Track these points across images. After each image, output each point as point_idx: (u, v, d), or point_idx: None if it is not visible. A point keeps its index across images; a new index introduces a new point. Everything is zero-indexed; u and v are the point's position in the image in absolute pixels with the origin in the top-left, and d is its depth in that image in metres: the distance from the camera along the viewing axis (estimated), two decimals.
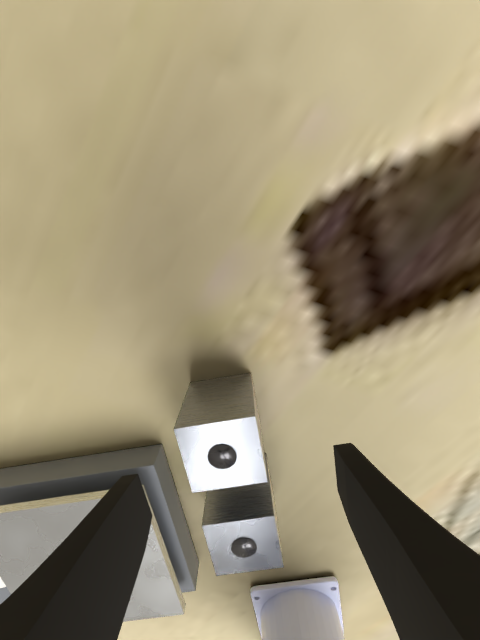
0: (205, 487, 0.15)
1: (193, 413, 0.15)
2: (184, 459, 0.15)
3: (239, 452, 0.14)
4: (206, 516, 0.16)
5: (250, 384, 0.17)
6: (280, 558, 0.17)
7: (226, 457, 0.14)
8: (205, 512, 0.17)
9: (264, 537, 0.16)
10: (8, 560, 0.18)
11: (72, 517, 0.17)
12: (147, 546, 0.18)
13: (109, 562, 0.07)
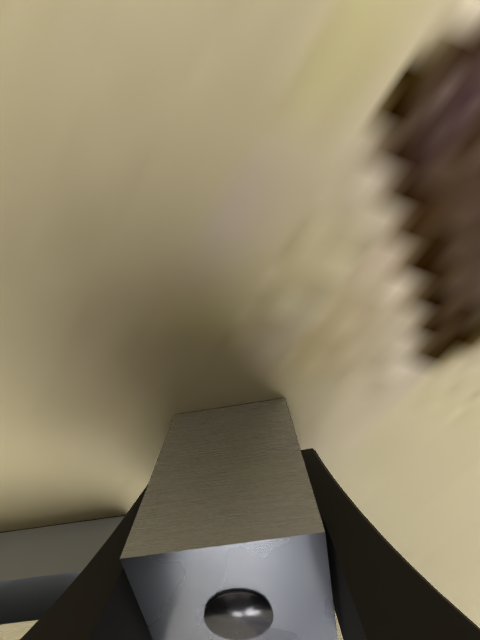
0: None
1: (172, 504, 0.07)
2: (149, 618, 0.06)
3: (279, 606, 0.06)
4: None
5: (290, 426, 0.09)
6: None
7: (249, 617, 0.06)
8: None
9: None
10: None
11: None
12: None
13: None
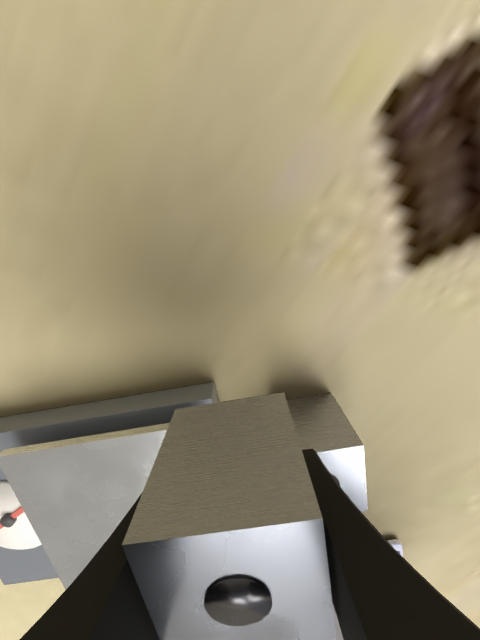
0: None
1: (173, 493, 0.07)
2: (151, 605, 0.06)
3: (278, 593, 0.06)
4: None
5: (289, 419, 0.09)
6: (365, 499, 0.14)
7: (248, 604, 0.06)
8: None
9: (349, 473, 0.14)
10: (44, 509, 0.16)
11: (120, 455, 0.15)
12: None
13: None
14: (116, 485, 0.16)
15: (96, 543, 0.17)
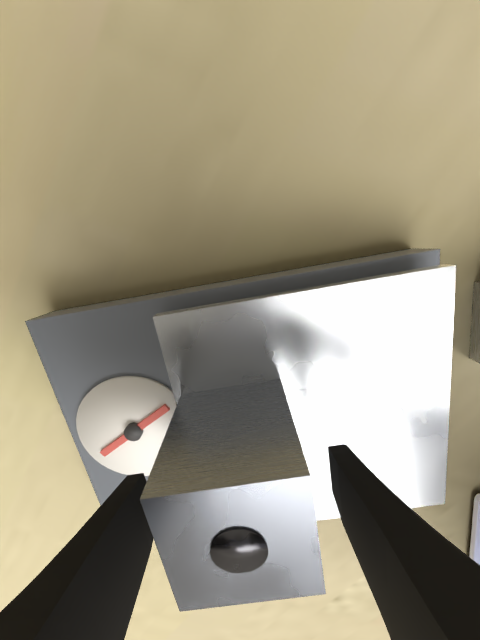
0: (205, 602, 0.08)
1: (182, 460, 0.08)
2: (163, 554, 0.07)
3: (273, 542, 0.07)
4: None
5: (284, 400, 0.10)
6: None
7: (248, 552, 0.07)
8: None
9: None
10: None
11: (328, 316, 0.11)
12: (431, 376, 0.11)
13: (116, 562, 0.07)
14: (311, 365, 0.11)
15: None
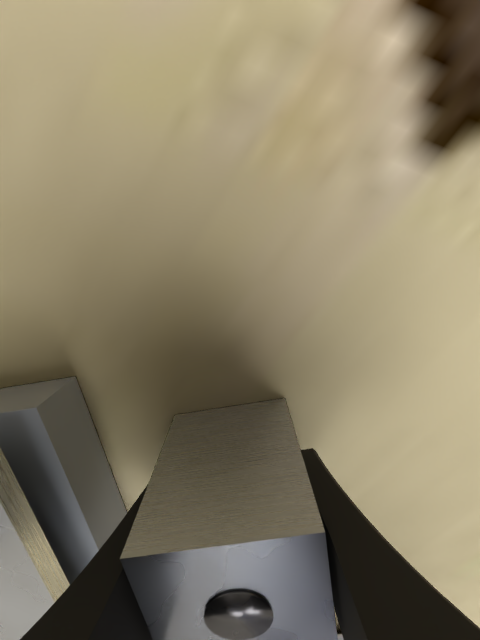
0: None
1: None
2: None
3: None
4: (138, 531, 0.06)
5: None
6: None
7: None
8: (138, 519, 0.06)
9: (294, 589, 0.06)
10: None
11: None
12: (20, 590, 0.08)
13: None
14: None
15: None
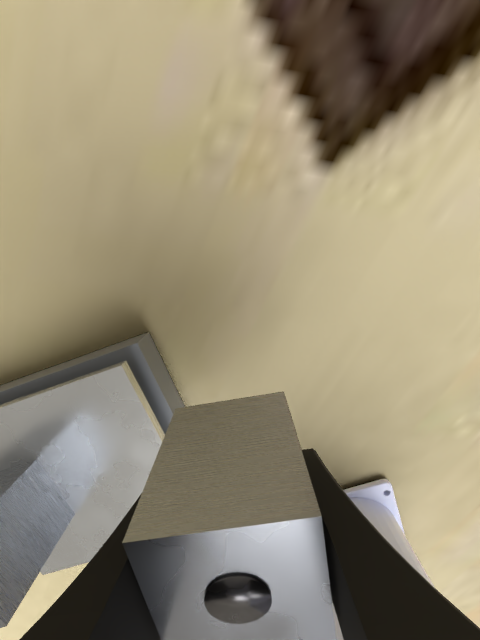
0: None
1: None
2: None
3: None
4: (140, 517, 0.06)
5: (10, 485, 0.14)
6: (330, 625, 0.07)
7: None
8: (139, 506, 0.07)
9: (292, 574, 0.06)
10: None
11: (49, 413, 0.14)
12: (145, 440, 0.15)
13: None
14: (54, 447, 0.15)
15: None
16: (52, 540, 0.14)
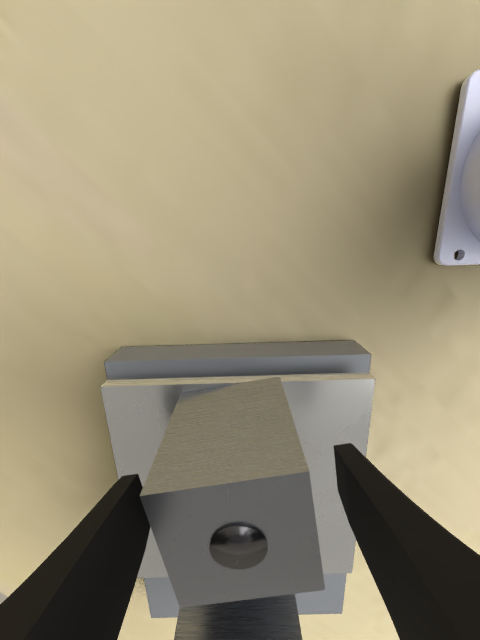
0: None
1: None
2: None
3: None
4: (154, 477, 0.07)
5: None
6: (319, 571, 0.08)
7: None
8: (152, 469, 0.08)
9: (285, 524, 0.07)
10: None
11: (142, 477, 0.13)
12: None
13: (109, 563, 0.07)
14: None
15: None
16: None
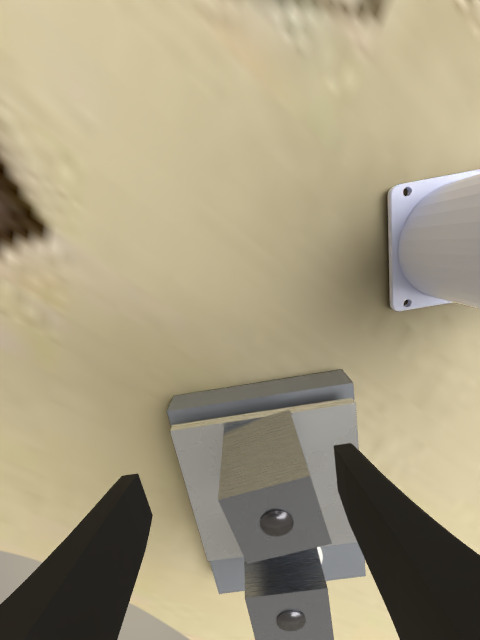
0: (328, 631, 0.15)
1: None
2: None
3: (287, 608, 0.14)
4: (223, 488, 0.13)
5: None
6: (326, 532, 0.13)
7: (291, 618, 0.14)
8: (220, 484, 0.13)
9: (301, 506, 0.12)
10: None
11: (203, 488, 0.18)
12: None
13: (109, 562, 0.07)
14: None
15: None
16: None
